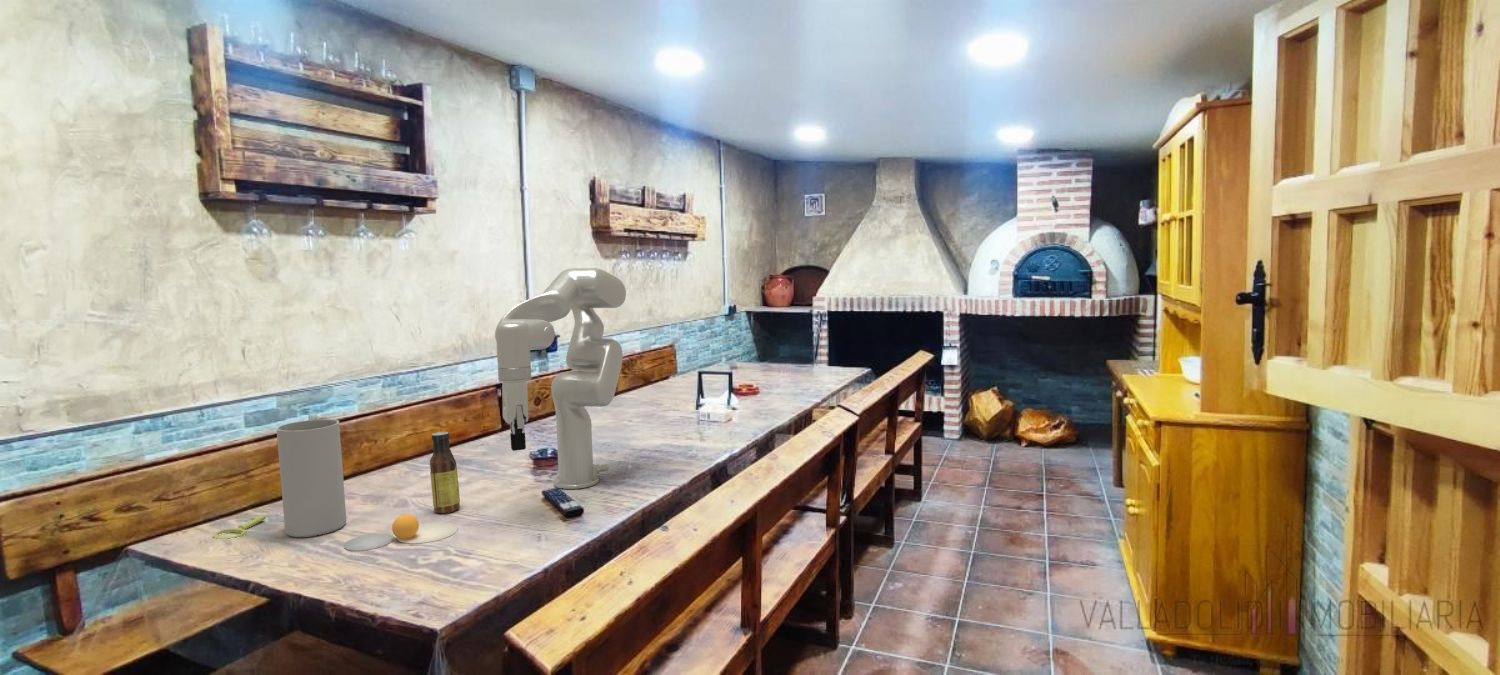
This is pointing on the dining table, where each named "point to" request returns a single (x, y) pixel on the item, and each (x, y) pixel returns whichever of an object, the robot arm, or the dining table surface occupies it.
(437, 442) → the sauce bottle
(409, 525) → the ball
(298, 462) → the cylinder vase
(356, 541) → the disc
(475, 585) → the dining table surface
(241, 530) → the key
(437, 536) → the disc
